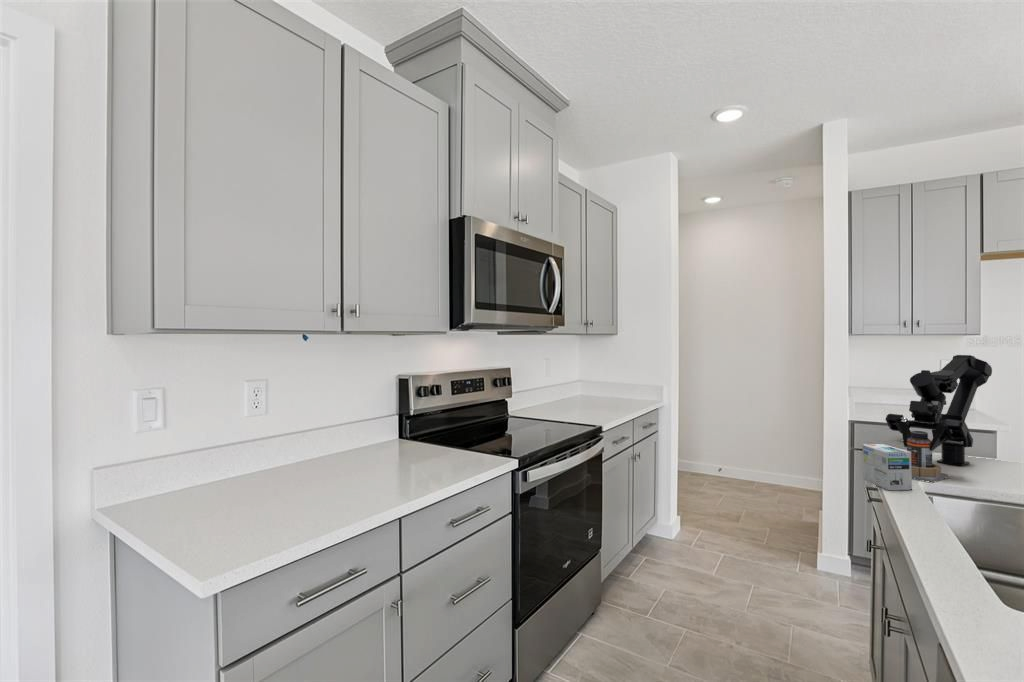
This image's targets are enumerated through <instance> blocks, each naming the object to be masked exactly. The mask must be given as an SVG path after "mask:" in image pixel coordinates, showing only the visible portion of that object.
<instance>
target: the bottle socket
mask: <svg viewBox="0 0 1024 682" xmlns="http://www.w3.org/2000/svg"><path fill="white" fill-rule="evenodd" d="M911 471H912V478H915V479H918V480H917V481H920V480H924V481H923V482H925V481H929V482H928V483H930V482H933V483H935V482H934V481H936V482H939V481H942V480H944V479H943V478H945V477H948V478H949V474H948V473H944V472H942V467H941V466H940V465H939V464H936V463H933V462H932V468H921V467H915V466H911ZM915 479H914V480H915ZM941 479H942V480H941ZM945 479H946V478H945ZM938 480H939V481H938Z"/></svg>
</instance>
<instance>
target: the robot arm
mask: <svg viewBox="0 0 1024 682" xmlns="http://www.w3.org/2000/svg"><path fill="white" fill-rule="evenodd" d="M992 373H993V368H992V366H991V364H989V363H988V362H987V361H985V360H982V359H979V358H976V357H975V356H974V355H971V354H956V355H953V357H952V360H950V361H949V362H948V363H947V364H946V365H944V367H942V368H941V369H940V370H936V371H932V372H931V370H928V369H927V370H926V369H922V370H921V371H920V372H917V373H915V374H914V375H912V376H910V378H909V382H910V384H911V386H912V388H913V390H914V391H915V393H916V395H917V396H918V397H920V400H910V401H909V403H910V404H909V409H908V411H909V412H911V414H910V416H911V419H908V418H907V417H904V415H903V414H898V413H888V414H887V415H885V419H884V420H885V422H886V423H887V425H888V428H889V429H890V431H896V432H899V433H900V434H901V435H902V441H903V446H904V448H907V439H908V438H910V437H911V429H910V428H917V429H924V430H925V429H926V430H931V433H932V434H931V435H932V440H931V445H930V451H932V452H933V451H934V450H935V449H937V448H938V447H939V446H941V451H940V452H941V459H938V460H936V462H937V463H941V464H946V465H951V466H952V465H953V466H958V467H964V466H966V465H969V464H971V462H970V461H966V455H965V454H966V453H965V452H966V449H965V448H972V447H973V444H974V439H973V437H972V435H971V433H970V431H969V427H968V425H967V423H966V420H967V419H966V418H967V415H968V414H969V410H970V408H971V406H972V403H973V400H974V397H975V395H976V392H977V390H978V388H979V387H981V386H983V385H984V384H986V383H987V382H988V380H989V378H990V377H991V376H992ZM958 380H959V381H958ZM954 391H955V392H954ZM944 393H945V394H944ZM952 393H954V394H953V397H952V400H951V402H950V404H949V406H948V410H947V411H946V413H943V409H944V406H946V405H947V400H946V399H947V395H946V394H952Z"/></svg>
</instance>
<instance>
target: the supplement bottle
mask: <svg viewBox="0 0 1024 682" xmlns="http://www.w3.org/2000/svg"><path fill="white" fill-rule="evenodd" d="M910 431H911V430H910ZM928 437H929V433H928V432H927V431H921V430H912V431H911V437H910V438H908V439H907V447H906V451H909V452H911V466H915V467H921V468H932V463H933V451H930V445H931V442H932V440H930V439H929V438H928Z"/></svg>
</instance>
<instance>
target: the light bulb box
mask: <svg viewBox="0 0 1024 682" xmlns="http://www.w3.org/2000/svg"><path fill="white" fill-rule="evenodd" d="M862 464H863V467H862V470H863V474H862V475H863V479H862V480H863V481H866V482H868V483H871V484H872V485H876V486H878V487H880V488H882V489H884V490H887V491H911V490H910V489H912V490H913V482H912V481H913V479H912V471H911V452H909V451H907V449H906V450H904V449H902V448H899V447H894V446H891V445H889V444H888V445H887V444H885V443H871V444H870V443H862Z"/></svg>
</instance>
